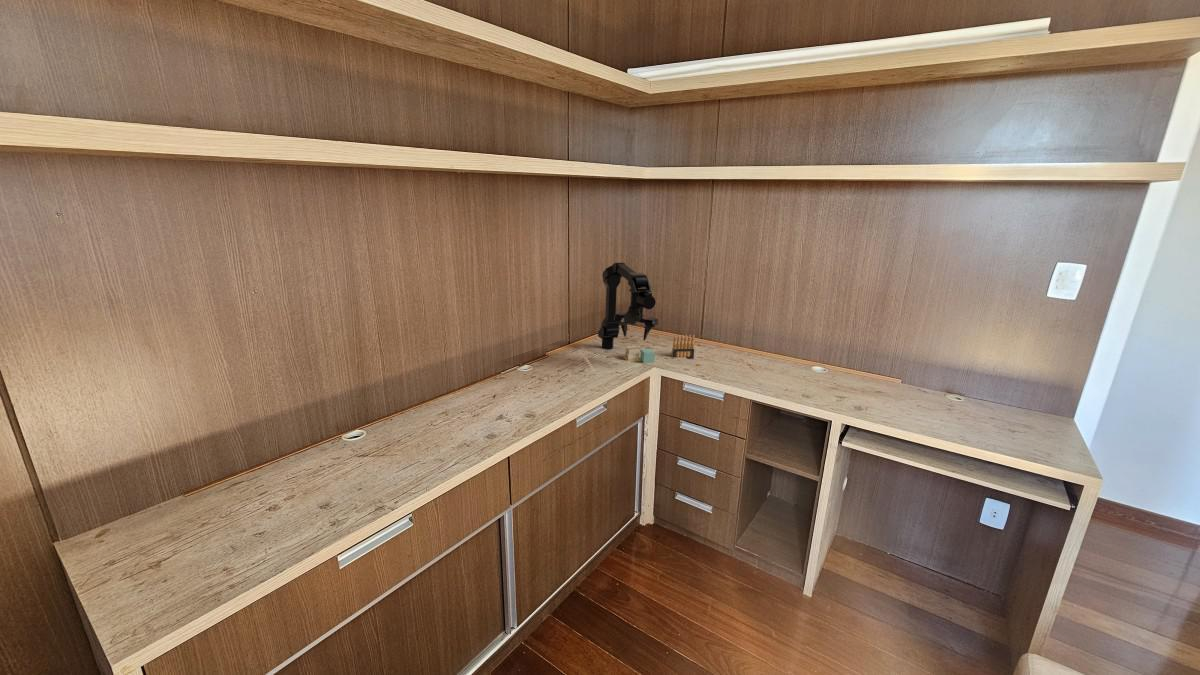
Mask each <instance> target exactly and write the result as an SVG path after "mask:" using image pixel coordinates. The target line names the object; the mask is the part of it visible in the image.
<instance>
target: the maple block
mask: <svg viewBox="0 0 1200 675" xmlns="http://www.w3.org/2000/svg"><path fill="white" fill-rule="evenodd" d="M624 355H625V356H624V357H626V359H627V360H628V361H627V362H633V361H632V360H639V359H640V349H639V347H638V346H625V354H624ZM626 359H625V360H626Z"/></svg>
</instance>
